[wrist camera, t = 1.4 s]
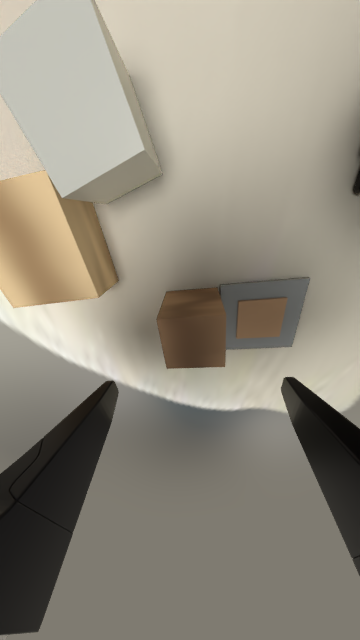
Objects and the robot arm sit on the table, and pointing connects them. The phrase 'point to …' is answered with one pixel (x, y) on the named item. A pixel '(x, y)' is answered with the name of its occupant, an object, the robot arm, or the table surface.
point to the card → (263, 312)
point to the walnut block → (193, 328)
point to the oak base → (50, 245)
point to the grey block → (76, 101)
